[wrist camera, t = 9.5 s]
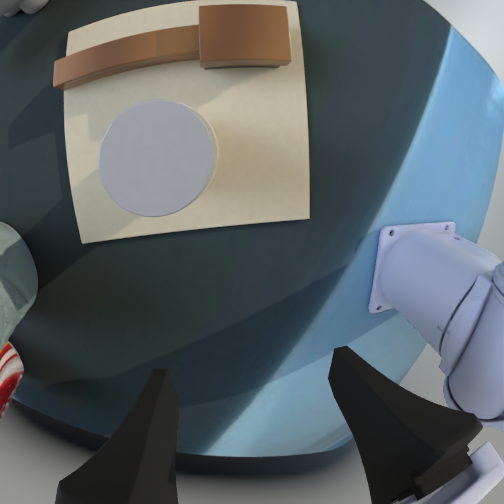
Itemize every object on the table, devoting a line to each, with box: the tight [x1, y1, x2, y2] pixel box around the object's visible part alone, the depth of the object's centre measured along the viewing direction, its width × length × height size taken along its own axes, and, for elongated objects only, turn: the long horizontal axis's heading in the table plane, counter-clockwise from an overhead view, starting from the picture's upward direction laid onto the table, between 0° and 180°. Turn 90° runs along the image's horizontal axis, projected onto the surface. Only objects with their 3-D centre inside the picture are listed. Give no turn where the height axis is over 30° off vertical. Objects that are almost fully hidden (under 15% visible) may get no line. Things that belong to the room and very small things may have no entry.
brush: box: [53, 4, 292, 90], centre depth 11 cm, size 14×4×2 cm, turn 93°
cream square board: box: [64, 0, 309, 244], centre depth 14 cm, size 16×16×1 cm
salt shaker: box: [98, 99, 219, 217], centre depth 12 cm, size 4×4×8 cm
